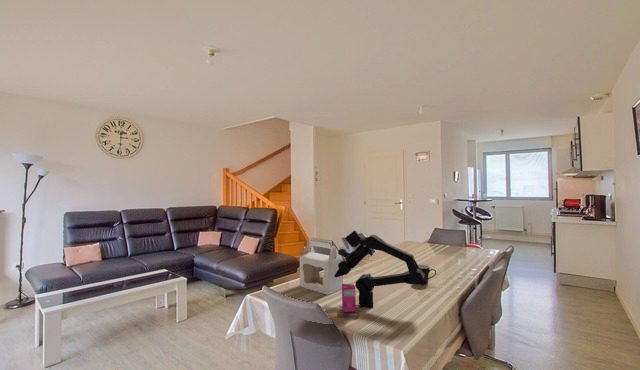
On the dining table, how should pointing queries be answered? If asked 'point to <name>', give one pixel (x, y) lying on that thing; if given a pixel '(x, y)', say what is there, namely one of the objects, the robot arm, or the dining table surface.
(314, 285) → the gable box
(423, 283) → the coffee mug
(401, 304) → the dining table surface
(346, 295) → the supplement box
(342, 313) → the walnut riser
